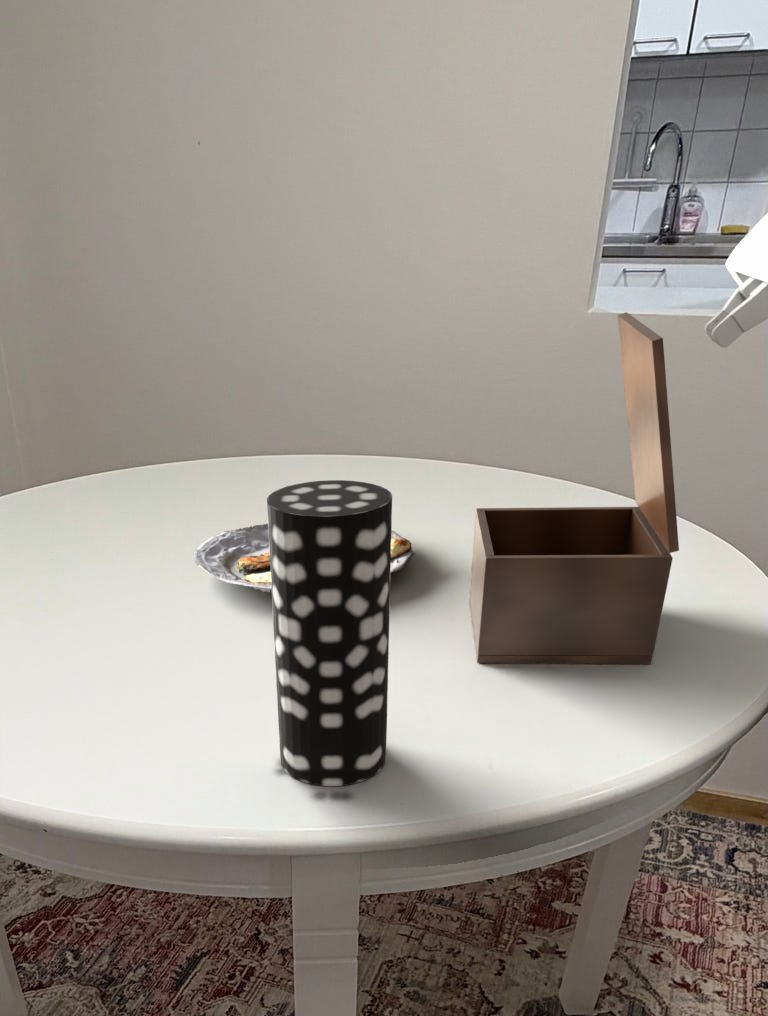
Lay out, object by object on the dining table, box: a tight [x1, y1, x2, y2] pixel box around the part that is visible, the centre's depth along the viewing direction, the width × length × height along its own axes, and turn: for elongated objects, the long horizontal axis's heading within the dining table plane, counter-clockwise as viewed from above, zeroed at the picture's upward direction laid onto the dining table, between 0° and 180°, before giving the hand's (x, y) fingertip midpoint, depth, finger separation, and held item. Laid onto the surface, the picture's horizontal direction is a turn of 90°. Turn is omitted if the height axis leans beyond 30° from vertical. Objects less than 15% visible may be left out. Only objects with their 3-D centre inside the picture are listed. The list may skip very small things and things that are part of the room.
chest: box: [468, 506, 674, 665], centre depth 90 cm, size 16×15×10 cm
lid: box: [617, 311, 680, 554], centre depth 81 cm, size 17×15×1 cm
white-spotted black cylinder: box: [266, 479, 393, 787], centre depth 69 cm, size 8×8×20 cm
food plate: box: [193, 523, 415, 593], centre depth 109 cm, size 25×23×4 cm
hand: (712, 339), depth 77 cm, fingers closed
